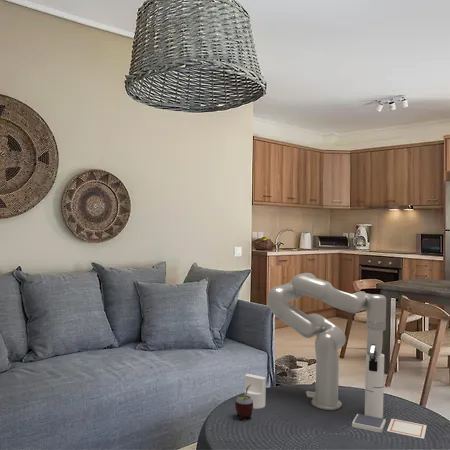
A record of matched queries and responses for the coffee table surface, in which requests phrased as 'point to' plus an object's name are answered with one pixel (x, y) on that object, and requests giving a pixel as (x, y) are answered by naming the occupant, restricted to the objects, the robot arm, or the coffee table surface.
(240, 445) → the coffee table surface
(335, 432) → the coffee table surface
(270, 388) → the coffee table surface
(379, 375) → the cylindrical container
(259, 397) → the base with upright slab
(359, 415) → the ink pad
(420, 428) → the marked paper
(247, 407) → the mate gourd
